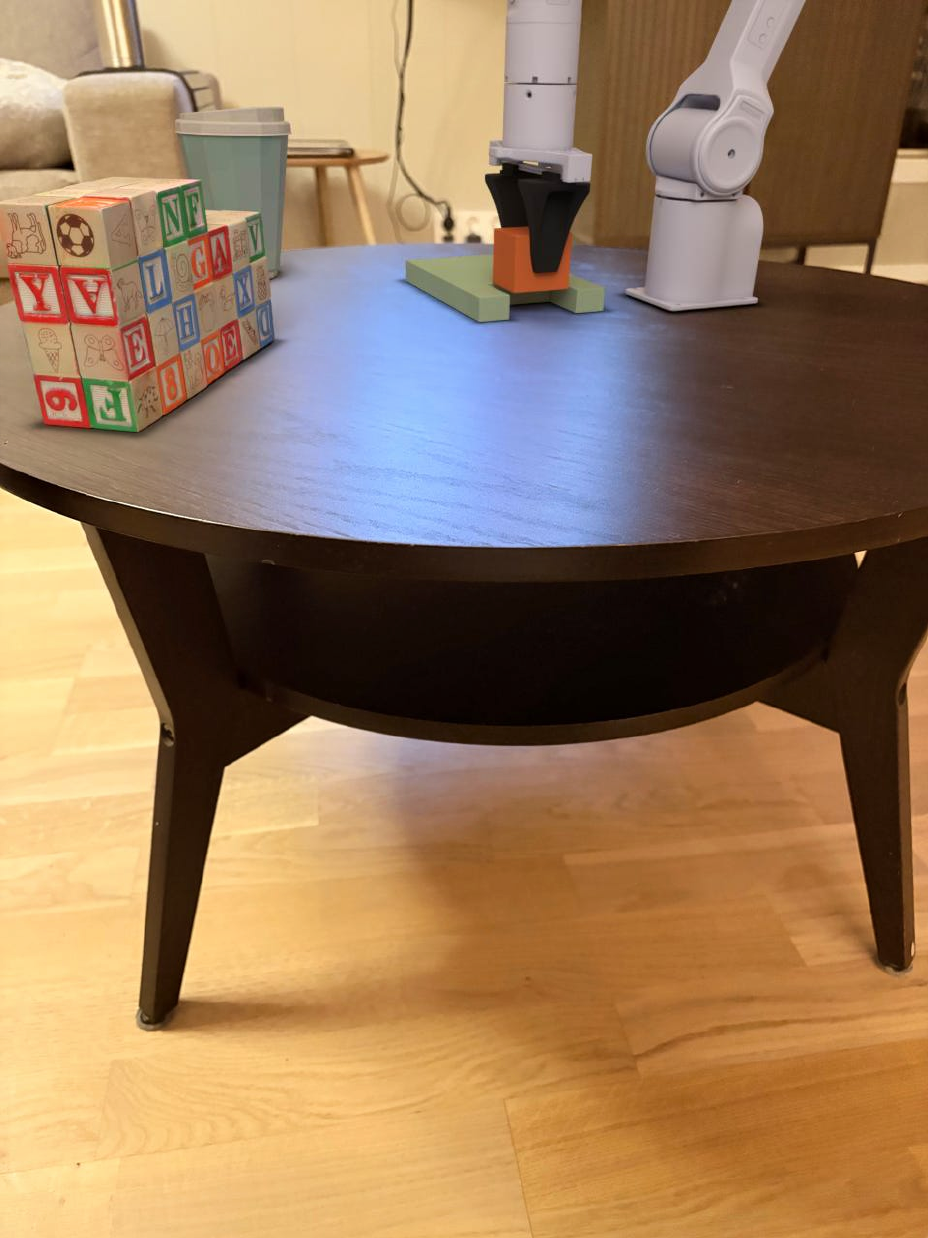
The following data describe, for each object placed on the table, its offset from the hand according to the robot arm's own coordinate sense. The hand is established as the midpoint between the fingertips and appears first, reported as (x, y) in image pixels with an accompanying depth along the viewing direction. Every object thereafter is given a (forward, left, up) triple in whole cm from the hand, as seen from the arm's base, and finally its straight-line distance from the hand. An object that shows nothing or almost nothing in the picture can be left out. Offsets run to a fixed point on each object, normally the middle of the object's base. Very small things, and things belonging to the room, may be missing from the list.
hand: (531, 266), depth 80 cm
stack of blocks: (+32, +10, -4) cm, 33 cm away
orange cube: (0, 0, -2) cm, 2 cm away
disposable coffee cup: (+20, -23, -4) cm, 31 cm away
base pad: (0, -6, -4) cm, 7 cm away
